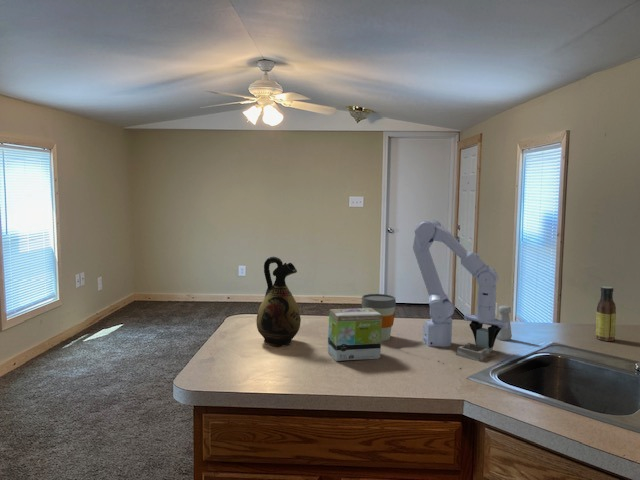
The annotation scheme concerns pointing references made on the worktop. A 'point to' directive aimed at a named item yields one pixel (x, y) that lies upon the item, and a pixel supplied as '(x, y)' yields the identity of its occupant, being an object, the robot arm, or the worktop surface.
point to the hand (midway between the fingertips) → (484, 345)
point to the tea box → (354, 334)
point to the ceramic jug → (278, 307)
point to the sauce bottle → (606, 315)
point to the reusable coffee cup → (382, 310)
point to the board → (475, 352)
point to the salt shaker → (504, 316)
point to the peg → (483, 338)
